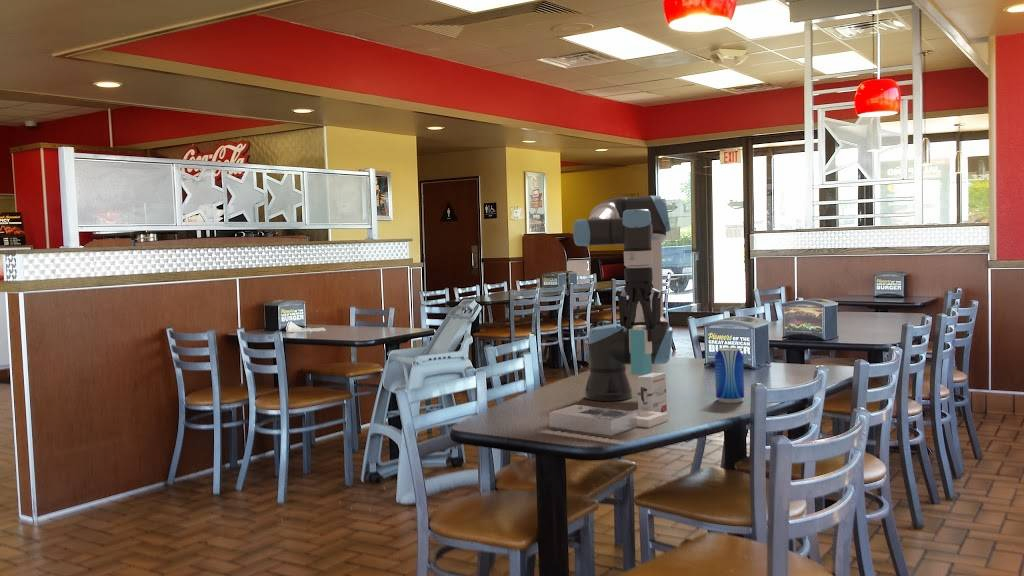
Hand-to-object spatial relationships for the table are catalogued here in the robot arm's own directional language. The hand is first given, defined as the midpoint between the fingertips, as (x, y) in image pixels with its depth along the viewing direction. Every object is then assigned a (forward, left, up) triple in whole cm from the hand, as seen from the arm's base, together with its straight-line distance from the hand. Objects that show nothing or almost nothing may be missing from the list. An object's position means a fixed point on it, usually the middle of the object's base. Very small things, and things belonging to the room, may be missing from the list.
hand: (640, 352), depth 236 cm
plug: (0, 0, -6) cm, 6 cm away
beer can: (+4, +43, -20) cm, 47 cm away
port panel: (-8, -12, -20) cm, 25 cm away
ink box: (-5, +13, -20) cm, 24 cm away
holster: (0, 0, -20) cm, 20 cm away
